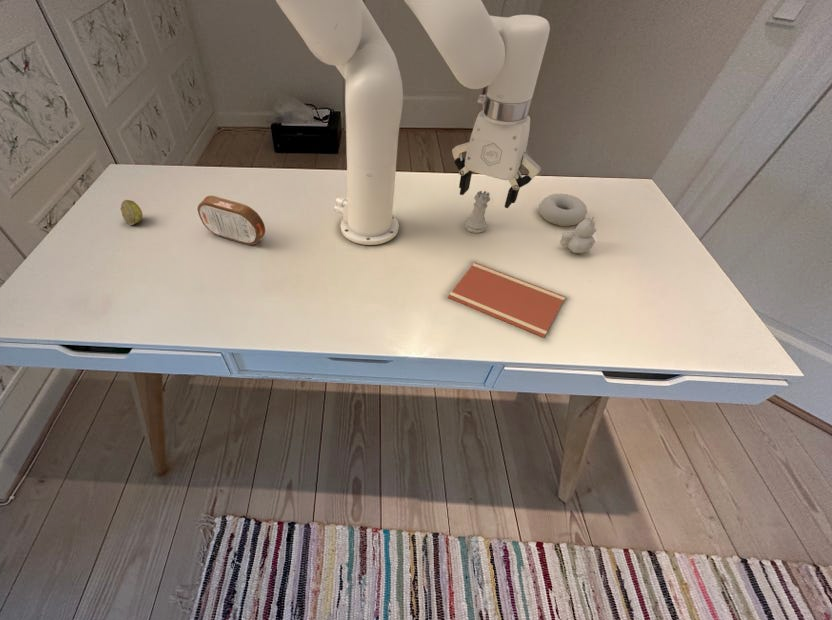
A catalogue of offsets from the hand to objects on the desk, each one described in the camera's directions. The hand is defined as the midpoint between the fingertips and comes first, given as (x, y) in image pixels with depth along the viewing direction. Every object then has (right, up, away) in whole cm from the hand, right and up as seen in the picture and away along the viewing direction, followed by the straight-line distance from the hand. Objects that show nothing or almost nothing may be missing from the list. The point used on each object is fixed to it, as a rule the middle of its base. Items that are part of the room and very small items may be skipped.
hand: (485, 198), depth 86 cm
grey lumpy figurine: (+18, -11, 0) cm, 21 cm away
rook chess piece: (-1, -5, +6) cm, 7 cm away
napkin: (+1, -22, -9) cm, 23 cm away
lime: (-76, -2, +8) cm, 77 cm away
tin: (-53, -7, +4) cm, 53 cm away
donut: (+19, -1, +8) cm, 21 cm away
